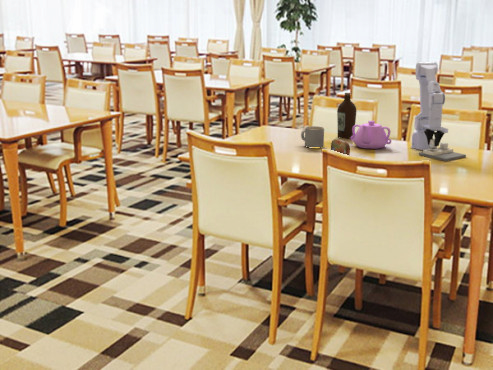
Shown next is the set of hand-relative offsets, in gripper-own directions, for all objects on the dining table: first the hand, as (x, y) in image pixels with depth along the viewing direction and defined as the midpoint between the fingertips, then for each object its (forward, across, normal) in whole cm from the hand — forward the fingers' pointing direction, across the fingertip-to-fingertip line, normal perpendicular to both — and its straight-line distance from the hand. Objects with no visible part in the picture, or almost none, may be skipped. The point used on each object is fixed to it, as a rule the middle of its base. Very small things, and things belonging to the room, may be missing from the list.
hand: (433, 145), depth 297 cm
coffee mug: (+5, -52, -34) cm, 62 cm away
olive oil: (+5, -60, -2) cm, 60 cm away
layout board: (+5, +3, +4) cm, 7 cm away
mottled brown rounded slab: (+6, -24, -38) cm, 46 cm away
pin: (+1, 0, 0) cm, 1 cm away
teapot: (+6, -32, -12) cm, 34 cm away
